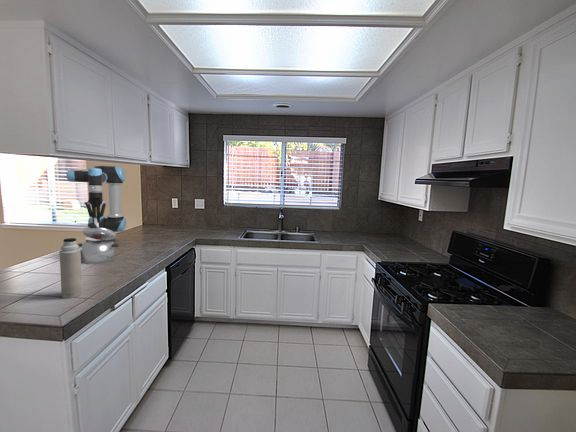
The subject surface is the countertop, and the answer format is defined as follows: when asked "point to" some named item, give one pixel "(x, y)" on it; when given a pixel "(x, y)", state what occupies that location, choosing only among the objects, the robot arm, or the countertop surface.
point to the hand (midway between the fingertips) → (96, 227)
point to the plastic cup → (90, 239)
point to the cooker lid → (98, 232)
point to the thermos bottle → (70, 269)
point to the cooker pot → (98, 251)
